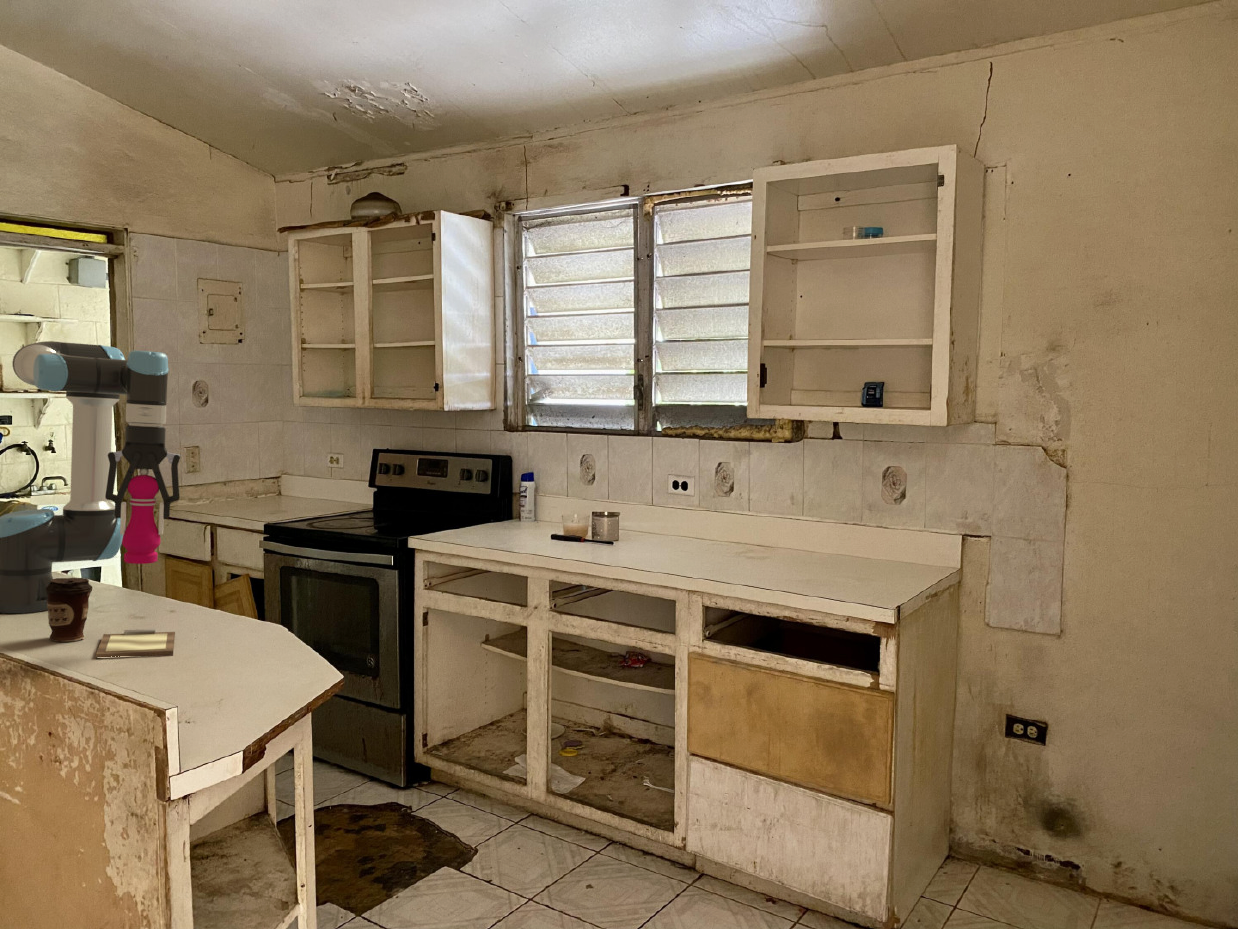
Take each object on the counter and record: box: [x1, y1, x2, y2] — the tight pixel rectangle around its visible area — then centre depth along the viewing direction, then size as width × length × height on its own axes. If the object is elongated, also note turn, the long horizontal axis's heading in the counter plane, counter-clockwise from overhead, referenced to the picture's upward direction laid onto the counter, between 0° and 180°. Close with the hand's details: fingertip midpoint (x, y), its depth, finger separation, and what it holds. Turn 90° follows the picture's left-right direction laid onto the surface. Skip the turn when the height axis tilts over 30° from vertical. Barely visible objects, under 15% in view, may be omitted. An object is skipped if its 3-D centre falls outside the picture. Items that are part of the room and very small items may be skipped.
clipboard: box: [95, 628, 176, 658], centre depth 194 cm, size 16×14×2 cm
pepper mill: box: [121, 468, 162, 565], centre depth 192 cm, size 7×7×20 cm
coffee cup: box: [46, 577, 93, 642], centre depth 196 cm, size 9×8×13 cm
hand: (141, 533), depth 193 cm, fingers closed on pepper mill, 6 cm apart
